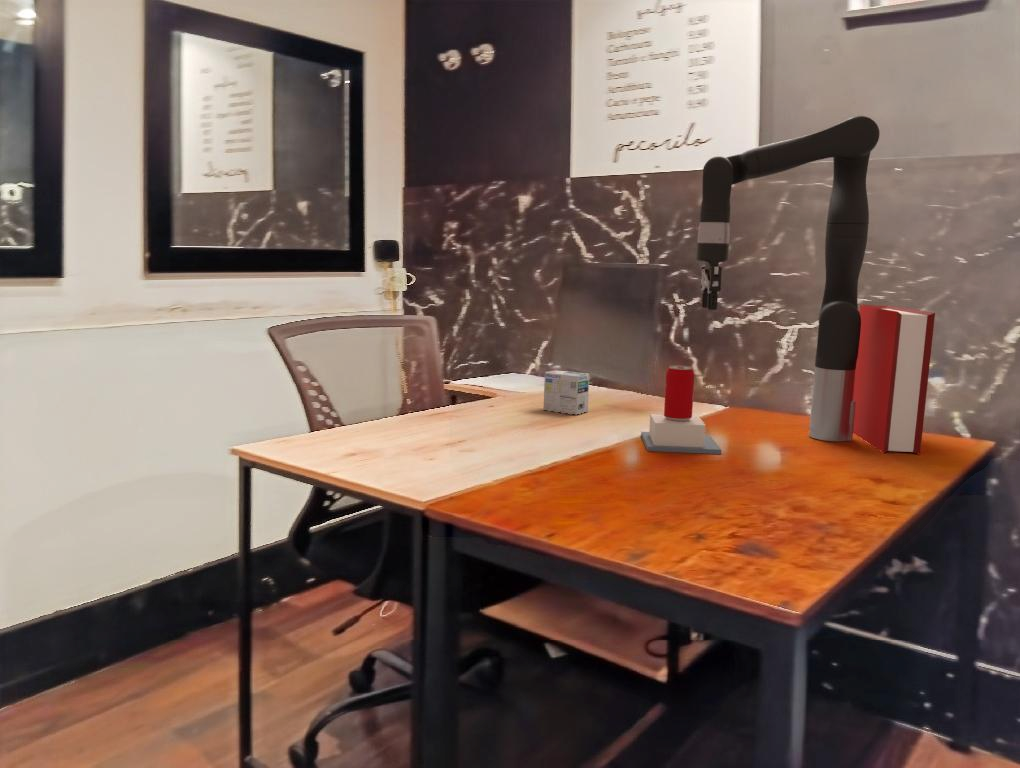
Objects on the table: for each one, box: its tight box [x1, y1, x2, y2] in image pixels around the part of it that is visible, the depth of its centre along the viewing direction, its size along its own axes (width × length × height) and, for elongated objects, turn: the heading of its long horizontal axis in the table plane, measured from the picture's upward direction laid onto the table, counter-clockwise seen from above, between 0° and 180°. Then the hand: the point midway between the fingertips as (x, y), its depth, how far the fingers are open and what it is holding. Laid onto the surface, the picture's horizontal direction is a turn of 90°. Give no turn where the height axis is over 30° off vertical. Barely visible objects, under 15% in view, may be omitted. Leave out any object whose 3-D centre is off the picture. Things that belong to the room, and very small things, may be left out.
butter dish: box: [640, 413, 722, 455], centre depth 191 cm, size 16×16×6 cm
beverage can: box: [663, 365, 695, 421], centre depth 189 cm, size 6×6×12 cm
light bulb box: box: [543, 369, 590, 416], centre depth 228 cm, size 11×7×11 cm, turn 58°
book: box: [853, 304, 936, 455], centre depth 200 cm, size 27×8×32 cm, turn 175°
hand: (708, 308), depth 207 cm, fingers open, 8 cm apart
